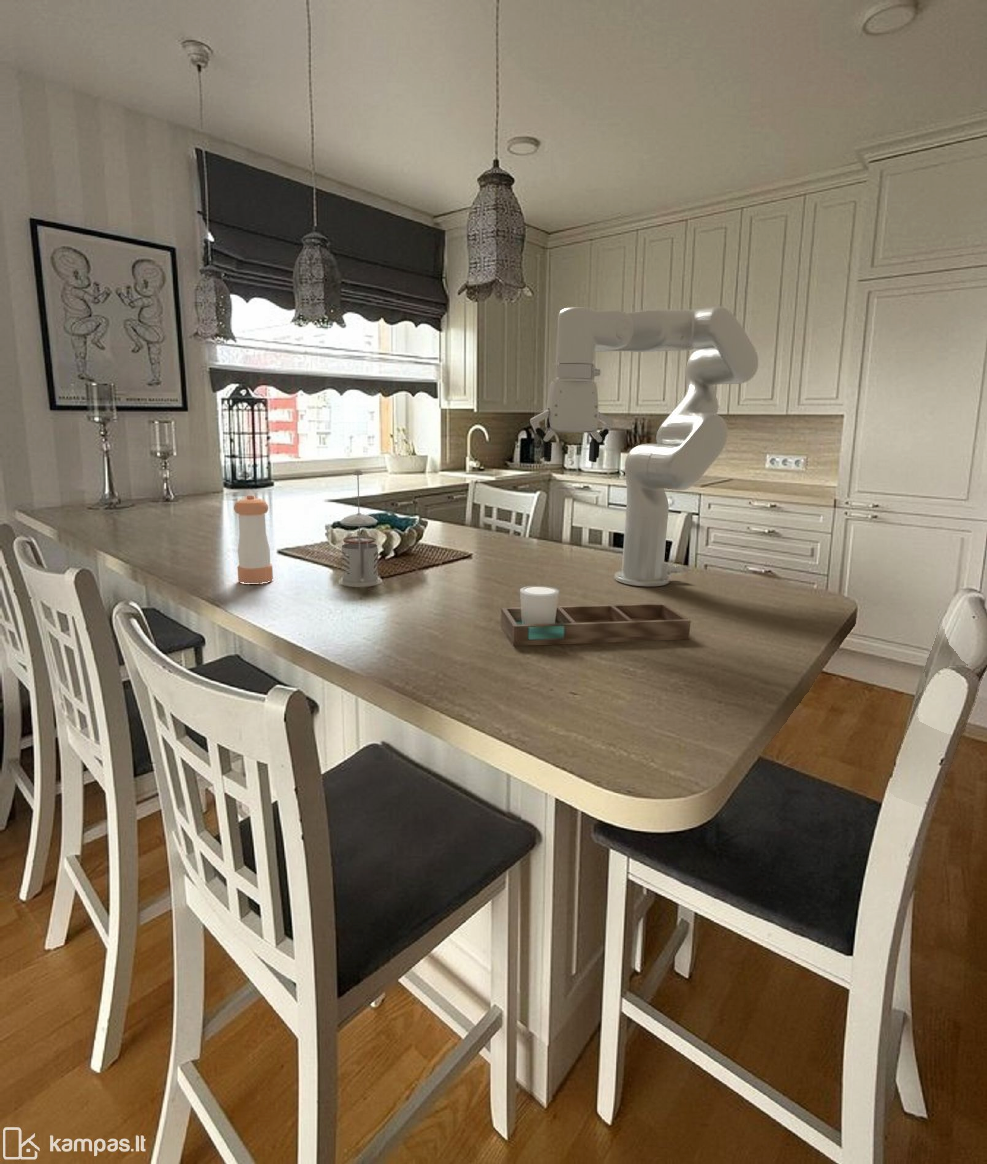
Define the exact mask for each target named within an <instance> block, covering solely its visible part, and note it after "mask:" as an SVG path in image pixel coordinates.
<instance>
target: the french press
mask: <svg viewBox="0 0 987 1164" xmlns="http://www.w3.org/2000/svg"><path fill="white" fill-rule="evenodd" d="M353 476H357V477H356V479H357V508H358V510H357V513H355V514H350V515H347V516H346V517H343V519H341V520H340V521H339V522H340V524H341V525H342V526H347V527H358V530H356V531H357V533H356V536H355V535H353V536H346V537H344V538H343V539H342V540H343V542H344V543H345V544H343V545H341V553H342V555H341V559H342V560H341V563H342V566H341V568H342V572H341V573H342V577H341V578H340V579H339V580H338V582H339V583H338V584H339V585H341V586H345V587H351V588H359V587H360V588H363V587H373V586H377V585H379V584H382V583H383V579H382V578H381V577H379V569H378V568H379V564H378V545H377V544H376V543H374V542H376V539H377V538H375V537H373V536H368V532H367V529H366V530H364V534H363V535H361V527H367V526H368V527H369V526H373V525H376V524H377V523H378V520H377V518H374V517H373V516H370V515H368V514H364V513H360V482H359V476H363V472H362V470H360V469H354V471H353ZM346 555H347V556H346ZM345 566H347V567H345Z"/></svg>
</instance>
